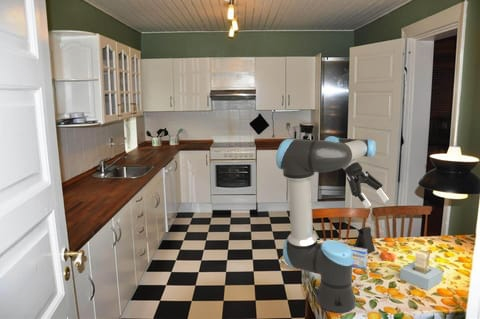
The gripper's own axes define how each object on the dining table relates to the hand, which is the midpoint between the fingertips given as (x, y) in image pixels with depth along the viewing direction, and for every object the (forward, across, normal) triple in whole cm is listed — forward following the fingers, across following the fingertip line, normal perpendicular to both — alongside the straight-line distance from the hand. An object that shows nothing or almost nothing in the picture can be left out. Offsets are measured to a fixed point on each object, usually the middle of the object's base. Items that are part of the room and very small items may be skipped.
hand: (378, 203), depth 158 cm
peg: (+34, -7, -9) cm, 36 cm away
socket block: (+35, -7, -10) cm, 37 cm away
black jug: (+11, -15, -34) cm, 39 cm away
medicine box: (+17, +3, -28) cm, 33 cm away
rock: (+21, -15, -25) cm, 36 cm away
